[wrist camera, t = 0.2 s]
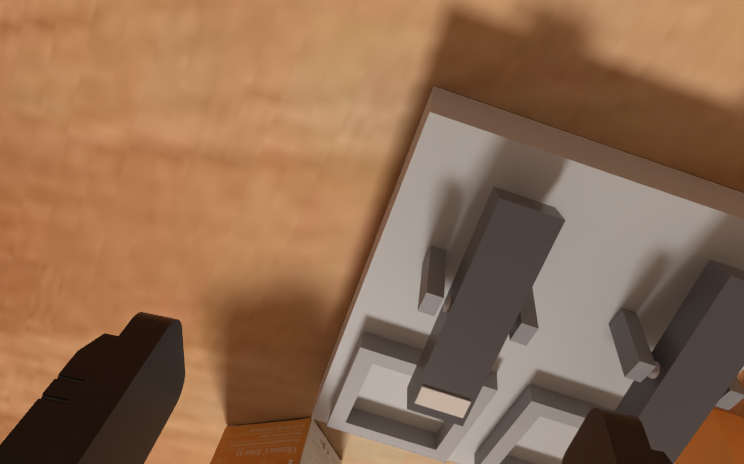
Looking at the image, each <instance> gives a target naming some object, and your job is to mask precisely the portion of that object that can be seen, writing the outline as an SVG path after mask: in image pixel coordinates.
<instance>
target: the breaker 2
mask: <svg viewBox="0 0 744 464" xmlns="http://www.w3.org/2000/svg"><path fill="white" fill-rule="evenodd" d="M651 353H652V356H653V359H654V361H655V364H656V367H655V368H654V369H653V370H652V371H651V372H650V373H649V375H648V376H647V377H646V378H645V379H644V380H643V381H642V382H638V381H635V380H634V381H633V383H632V384H631V386H630V387H629V389H628V391H627V392H626V394H625V395H624V397H623V398H622V400H621V402H620V403H619V405H618V406H617V408H616V410H615V412H619V413H624V414H629V415H634V416H636V417H638V418H639V419H640V421H641V422H642V424H643V427H644V429H645V432H646V435H647V438H648V441H649V444H650V447H651V449H653V450H657V451H662V452H664V453H665V454H666V455H667V457H668V458H669V459H670V461H671V462H672V463H673V464H674V463H675V461H676V460H677V458H678V457H679V456H680V454H681V453H682V451H683V450H684V449H685V447H686V446H687V445H688V443H689V442H690V440H691V439H692V438H693V436H694V435H695V433H696V432H697V431H698V429H699V428H700V426H701V425H702V424H703V422H704V421H705V419H706V418H707V417H708V415H709V414H710V412H711V411H712V410H713V408H714V407H715V405H716V404H717V403H718V401H719V400H720V398H721V397H722V396H723V394H724V393H725V392H726V390H727V389H728V387H729V386H730V385H731V383H732V382H733V380H734V379H735V378H736V376H737V375H738V373H739V372H740V371H741V369H742V368H743V366H744V271H743V270H740V269H737V268H734V267H731V266H728V265H725V264H722V263H719V262H716V261H713V260H709V262H708V263H707V265H706V266H705V268H704V270H703V271H702V273H701V274H700V276H699V278H698V279H697V281H696V282H695V284H694V286H693V287H692V289H691V290H690V292H689V294H688V295H687V297H686V298H685V300H684V301H683V303H682V305H681V306H680V308H679V309H678V311H677V313H676V314H675V316H674V317H673V319H672V321H671V322H670V324H669V325H668V327H667V329H666V330H665V332H664V333H663V335H662V336H661V338H660V340H659V341H658V343H657V344H656V346H655V348H654V349H653V351H652V352H651Z"/></svg>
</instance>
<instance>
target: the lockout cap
mask: <svg viewBox="0 0 744 464" xmlns="http://www.w3.org/2000/svg"><path fill="white" fill-rule="evenodd" d="M675 464H744V417H740V416H737V415H734V414H731V413H728V412H725V411H722V410H719V409H715V408H713V410H712V411H711V412H710V414H709V415H708V417H707V418H706V419H705V421H704V422H703V424H702V425H701V426H700V428H699V429H698V431H697V432H696V433H695V435H694V436H693V438H692V439H691V440H690V442H689V443H688V445H687V446H686V447H685V449H684V450H683V451H682V453H681V454H680V456H679V457H678V458H677V460H676V461H675Z"/></svg>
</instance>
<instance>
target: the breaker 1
mask: <svg viewBox="0 0 744 464" xmlns="http://www.w3.org/2000/svg"><path fill="white" fill-rule="evenodd" d="M564 222H565V219H564V218H563V217H562V215H561V214H560V213H559V212H558V210H557V209H556V208H555V207H552V206H549V205H547V204H544V203H541V202H538V201H535V200H532V199H529V198H526V197H523V196H520V195H517V194H514V193H511V192H508V191H505V190H502V189H499V188H496V187H493V189H492V191H491V194H490V196H489V198H488V201H487V203H486V205H485V208H484V210H483V212H482V215H481V217H480V219H479V222H478V224H477V226H476V229H475V231H474V233H473V236H472V238H471V240H470V243H469V245H468V247H467V250H466V252H465V254H464V257H463V259H462V261H461V263H460V266H459V268H458V270H457V273H456V275H455V277H454V280H453V282H452V284H451V287H450V289H449V291H448V294H447V296H446V298H445V301H444V303H443V305H442V308H441V310H440V312H439V315H438V317H437V319H436V322H435V324H434V326H433V329H432V331H431V333H430V336H429V338H428V340H427V342H426V345H425V347H424V349H423V352H422V354H421V356H420V359H419V361H418V363H417V366H416V368H415V370H414V373H413V375H412V377H411V380H410V382H409V384H408V387H407V409H408V410H411V411H414V412H418V413H421V414H424V415H427V416H431V417H434V418H437V419H440V420H443V421H447V422H450V423H453V424H456V425H460V426H463V425H464V423H465V421H466V419H467V417H468V415H469V413H470V411H471V409H472V407H473V405H474V403H475V401H476V399H477V397H478V395H479V393H480V391H481V389H482V387H483V385H484V383H485V381H486V379H487V377H488V375H489V373H490V371H491V369H492V367H493V365H494V363H495V361H496V359H497V357H498V355H499V353H500V351H501V349H502V347H503V345H504V343H505V341H506V339H507V337H508V335H509V333H510V331H511V329H512V327H513V325H514V323H515V321H516V319H517V317H518V315H519V313H520V311H521V309H522V307H523V305H524V303H525V301H526V299H527V297H528V295H529V293H530V291H531V289H532V287H533V285H534V283H535V281H536V279H537V277H538V275H539V273H540V271H541V269H542V267H543V265H544V263H545V261H546V259H547V256H548V254H549V252H550V250H551V248H552V246H553V244H554V242H555V240H556V238H557V236H558V234H559V232H560V230H561V228H562V226H563V224H564Z"/></svg>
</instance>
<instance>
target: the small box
mask: <svg viewBox="0 0 744 464" xmlns="http://www.w3.org/2000/svg"><path fill="white" fill-rule="evenodd" d="M210 464H342V462H341V460H340V459H339V457H338V456H337V454H336V453H335V451H334V449H333V448H332V446H331V445H330V443H329V442H328V440H327V439H326V437H325V436H324V434H323V433H322V431H321V430H320V428H319V427H318V425H317V424H316V422H315V421H314V419H311V418H306V419H299V420H291V421H280V422H270V423H260V424H249V425H239V426H235V425H231V426H227V427H226V428H225V430H224V433H223V435H222V437H221V440H220V442H219V444H218V447H217V449H216V451H215V454H214V456H213V458H212V461H211V463H210Z"/></svg>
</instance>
